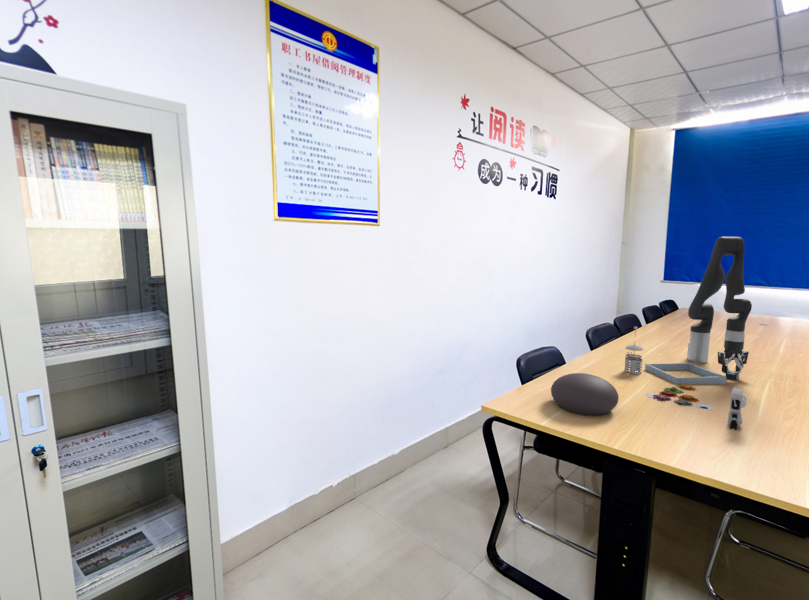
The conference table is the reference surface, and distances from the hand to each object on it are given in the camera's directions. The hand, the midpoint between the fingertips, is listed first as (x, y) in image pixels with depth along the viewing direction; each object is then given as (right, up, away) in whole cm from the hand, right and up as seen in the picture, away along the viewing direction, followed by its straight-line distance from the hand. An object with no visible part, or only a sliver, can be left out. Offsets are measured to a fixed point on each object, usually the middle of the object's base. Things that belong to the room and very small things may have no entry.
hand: (731, 372), depth 205 cm
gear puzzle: (-41, -7, -24) cm, 48 cm away
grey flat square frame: (-22, -3, +2) cm, 23 cm away
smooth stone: (-90, -9, -39) cm, 98 cm away
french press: (-45, -3, +8) cm, 45 cm away
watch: (0, -3, 0) cm, 3 cm away
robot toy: (-43, -11, -56) cm, 71 cm away
